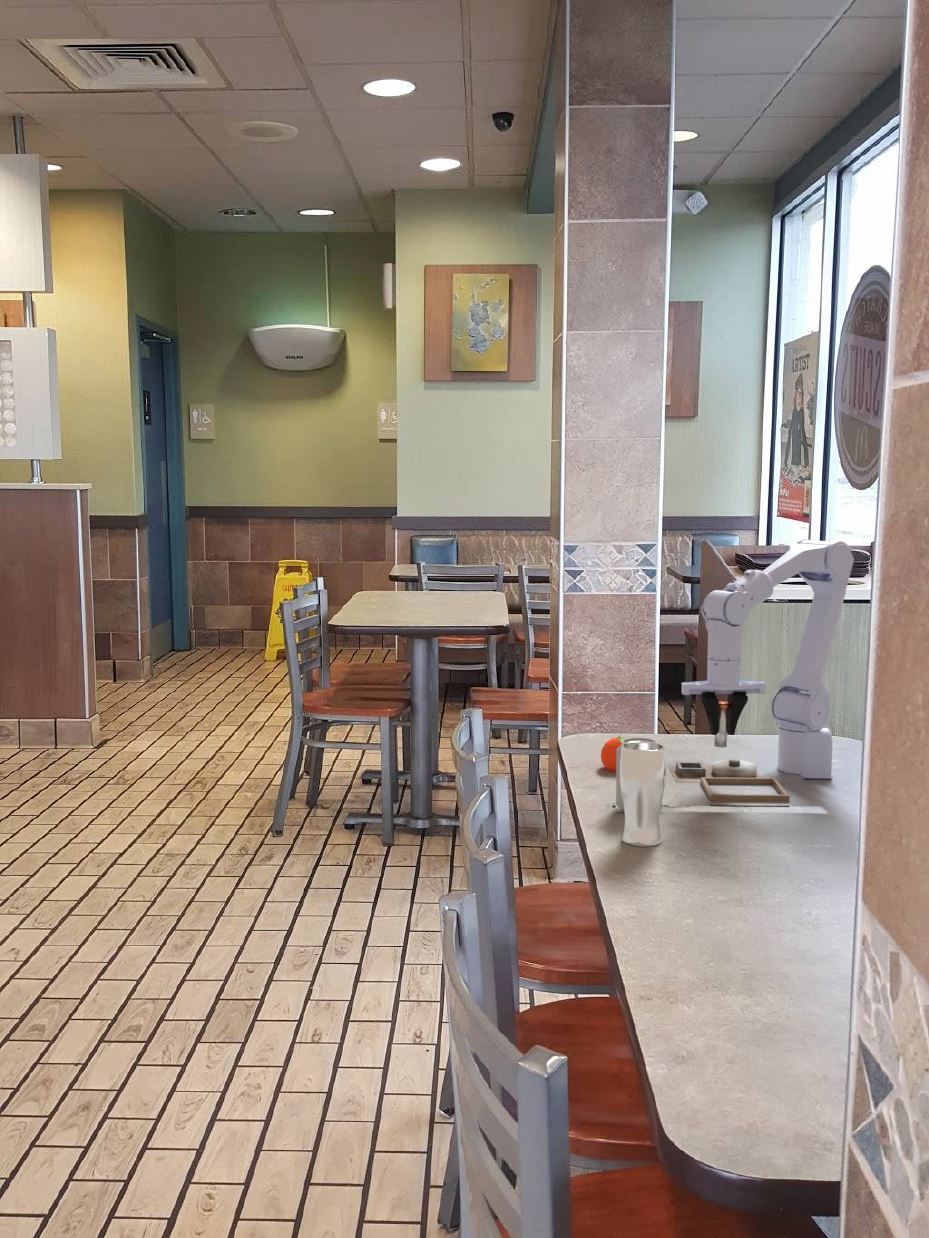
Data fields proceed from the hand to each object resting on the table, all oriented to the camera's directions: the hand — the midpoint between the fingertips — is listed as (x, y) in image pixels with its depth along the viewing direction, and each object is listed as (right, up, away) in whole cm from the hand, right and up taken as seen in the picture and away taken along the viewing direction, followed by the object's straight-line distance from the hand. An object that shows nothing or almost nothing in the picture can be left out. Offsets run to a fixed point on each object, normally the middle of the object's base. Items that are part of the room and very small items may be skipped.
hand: (722, 733), depth 200 cm
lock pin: (0, -2, 0) cm, 2 cm away
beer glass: (-19, -14, -26) cm, 35 cm away
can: (-17, -12, -11) cm, 23 cm away
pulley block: (+1, -9, +8) cm, 12 cm away
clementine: (-16, -9, +12) cm, 22 cm away
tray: (+3, -11, -4) cm, 12 cm away
